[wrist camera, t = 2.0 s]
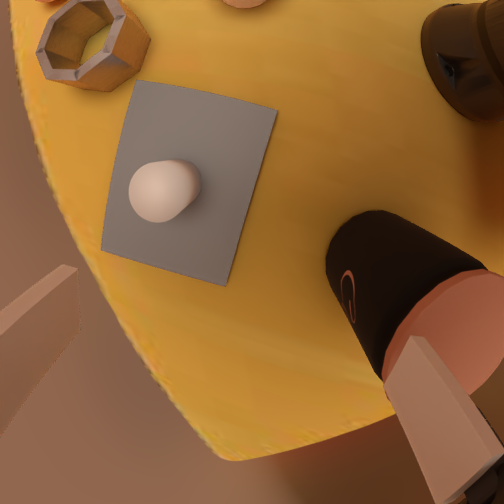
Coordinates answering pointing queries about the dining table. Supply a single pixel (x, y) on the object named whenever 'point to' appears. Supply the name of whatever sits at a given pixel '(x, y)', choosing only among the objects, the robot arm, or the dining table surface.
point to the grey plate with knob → (184, 179)
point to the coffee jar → (416, 296)
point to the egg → (44, 0)
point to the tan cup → (244, 3)
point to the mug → (75, 37)
